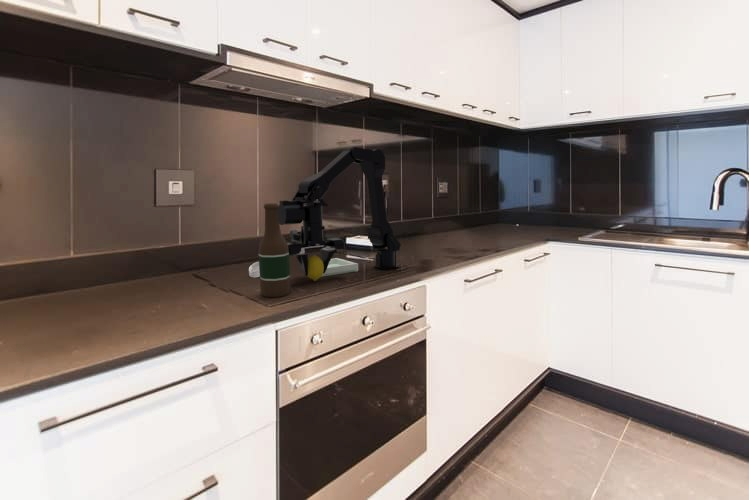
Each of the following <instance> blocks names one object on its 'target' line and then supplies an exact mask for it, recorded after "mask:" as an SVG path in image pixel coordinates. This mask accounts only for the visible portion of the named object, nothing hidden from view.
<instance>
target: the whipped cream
mask: <svg viewBox="0 0 749 500" xmlns="http://www.w3.org/2000/svg"><path fill="white" fill-rule="evenodd" d="M248 276H249V277H250V278H260V271H259V261H256V262H254V263H252V264H251V265H250V266H249V268H248Z"/></svg>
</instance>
